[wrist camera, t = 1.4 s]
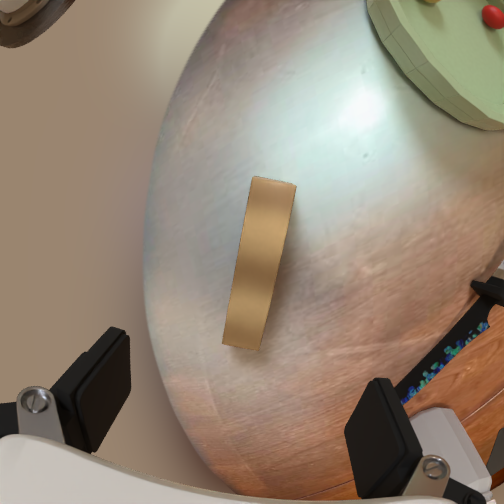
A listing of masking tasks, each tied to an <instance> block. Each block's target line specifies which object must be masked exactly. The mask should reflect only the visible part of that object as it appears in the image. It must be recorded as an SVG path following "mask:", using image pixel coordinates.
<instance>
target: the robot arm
mask: <svg viewBox="0 0 504 504" xmlns="http://www.w3.org/2000/svg"><path fill="white" fill-rule="evenodd" d="M48 1H49V0H0V21H1V22H2V24H4V25H7V26H10V27H12V26H17V25H20V24H21V23H23V22H25V21H27V20H28V19H29V18H31V17H32V16H34V15H35V14H36V13H37V12H38V11H39V10H40V9H42V8H43V7H44V6H45V5H46V4H47V3H48ZM130 391H131V371H130V337H129V336H128V335H126V332H125V330H121V329H119V328H115V327H110V328H109V329H108V330H107V331H106V332H105V333H104V334H103V335H102V336H101V337H100V338H99V339H98V341H97V342H96V343H95V344H94V345H93V346H92V347H91V348H90V349H89V351H88V352H84V353H82V354H81V355H80V356H79V357H78V359H77V360H76V361H75V362H74V363H73V364H72V365H71V366H70V367H69V369H68V370H67V371H66V372H65V373H64V374H63V375H62V376H61V377H60V379H59V380H58V381H57V382H56V383H55V384H54V385H53V386H52V388H51V389H50V390H47V389H46V388H43V387H40V386H31V387H27V388H25V389H23V390H22V391H21V392H20V393H19V394H18V396H17V401H16V402H11V403H1V404H0V504H487V503H486V499H485V497H484V496H483V495H482V494H481V493H480V492H478V491H477V490H474V489H472V488H470V487H468V486H466V485H464V484H462V483H460V482H458V481H456V480H454V479H452V478H450V473H451V470H450V466H449V464H448V463H447V462H446V461H445V459H443V458H442V457H440V456H437V455H426V456H423V453H422V452H423V449H422V447H421V445H420V442H419V440H418V438H417V436H416V433H415V431H414V429H413V427H412V425H411V422H410V420H409V418H408V416H407V414H406V412H405V410H404V408H403V406H402V403H401V401H400V399H399V397H398V395H397V393H396V391H395V389H394V387H393V385H392V383H391V381H390V379H388V378H374V379H373V381H370V382H369V383H368V385H367V387H366V389H365V391H364V393H363V395H362V396H361V398H360V400H359V402H358V404H357V406H356V408H355V410H354V411H353V413H352V415H351V417H350V419H349V420H348V422H347V424H346V426H345V429H344V434H345V439H346V443H347V447H348V452H349V456H350V461H351V466H352V470H353V475H354V480H355V485H356V490H357V494H358V496H359V497H361V498H362V499H361V500H341V501H300V500H281V499H268V498H258V497H250V496H242V495H235V494H229V493H223V492H217V491H212V490H206V489H202V488H196V487H192V486H188V485H184V484H180V483H175V482H172V481H168V480H164V479H161V478H157V477H154V476H150V475H147V474H144V473H141V472H138V471H134V470H132V469H129V468H126V467H123V466H120V465H117V464H115V463H112V462H109V461H107V460H104V459H101V458H99V457H96V456H94V455H91V452H96V451H97V450H98V448H99V446H100V445H101V443H102V441H103V439H104V437H105V436H106V434H107V432H108V431H109V429H110V427H111V425H112V424H113V422H114V420H115V418H116V416H117V415H118V413H119V411H120V410H121V408H122V406H123V404H124V402H125V401H126V399H127V398H128V396H129V394H130Z"/></svg>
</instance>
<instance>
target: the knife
mask: <svg viewBox="0 0 504 504" xmlns="http://www.w3.org/2000/svg"><path fill="white" fill-rule="evenodd" d="M471 287H472V288H473V289H474V290H475V291H476V292H477V293H478V295H479V296H480V297H479V299H478V300H477V301H476V302H475V303H474V305H473V306H472V307H471V308H470V309H469V310H468V311H467V312H466V314H465V315H464V316H463V317H462V318H461V319H460V320H459V321H458V322H457V323H456V325H455V326H454V327H453V328H452V329H451V330H450V331H449V332H448V333H447V334H446V336H445V337H444V338H443V339H442V340H441V341H440V342H439V343H438V344H437V345H436V346H435V347H434V348H433V349H432V350H431V351H430V352H429V353H428V354H427V355H426V356H425V357H424V358H423V359H422V360H421V362H420V363H419V364H418V365H417V366H416V367H415V368H414V369H413V370H412V371H411V372H410V373H409V374H408V375H407V376H406V377H405V378H404V379H403V380H402V381H401V382H400V383H399V384H398V385H397V386H396V387H395V388H394V389H395V391H396V393H397V395H398V397H399V399H400V401H401V403H402V405H404V404H405V403H406V402H407V401H409V400H410V399H411V398H412V397H413V396H414V395H416V394H417V393H418V392H419V391H420V390H421V389H422V388H423V387H424V386H425V385H426V384H427V383H428V382H429V381H430V380H431V379H432V378H433V377H434V376H435V375H436V374H437V373H438V372H439V371H440V370H441V369H442V368H443V367H444V366H445V365H446V364H447V363H448V362H449V361H450V360H451V359H452V358H453V357H454V356H455V355H456V354H457V353H458V352H459V351H460V350H461V349H462V348H463V347H465V346H466V345H467V344H468V343H469V342H471V341H472V340H473V339H474V338H476V337H477V336H478V335H479V334H481V333H482V332H483V331H485V330H486V329H488V328H489V327H490V326H489V325H488V321H487V317H488V314H489V312H490V310H491V308H492V307H493V306H494V305H495V304H497V305H500V306H503V307H504V260H503V262H502V263H501V264H500V266H499V267H498V268H497V270H496V271H495V272H494V274H493V275H492V276H491V277H490V278H489V280H488V281H487V282H486V283H483V282H478V281H474V280H473V281H472V284H471Z"/></svg>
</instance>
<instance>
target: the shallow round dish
mask: <svg viewBox="0 0 504 504" xmlns="http://www.w3.org/2000/svg"><path fill="white" fill-rule="evenodd" d="M366 1H367V9H368V13H369V15H370V17H371V19H372V22H373V24H374V26H375V28H376V30H377V33H378V35H379V37H380V39H381V42H382V43H383V45H384V46H385V47H386V49H387V50H388V51H389V53H390V54H391V55H392V57H393V58H394V60H395V61H396V62H397V64H398V65H399V67H400V68H401V70H402V71H403V73H404V74H405V75H406V76H407V77H408V78H409V79H410V80H411V81H412V82H413V83H414V84H415V85H416V86H417V87H418V88H419V89H420V90H421V91H422V92H423V93H424V94H425V95H426V96H427V97H428V98H429V99H430V100H431V101H432V102H433V103H434V104H435V105H437V106H438V107H440V108H441V109H443V110H444V111H446V112H447V113H449V114H450V115H452V116H453V117H455V118H456V119H458V120H459V121H460V122H462V123H465V124H468V125H472V126H475V127H478V128H481V129H483V130H487V131H488V130H500V129H504V27H503V28H502V29H493V28H491V27H490V26H488V25H487V24H486V23H485V21H484V20H483V18H482V9H483V7H485V6H486V5H493V6H496V7H497V8H499V9H500V10H501V11H502V12H503V14H504V0H440V1H439V2H437V3H429V2H426V1H424V0H366Z"/></svg>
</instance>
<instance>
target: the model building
mask: <svg viewBox="0 0 504 504" xmlns="http://www.w3.org/2000/svg"><path fill="white" fill-rule="evenodd" d="M486 468H487V470H488V472H489V474H490V476H492V475H493V474H495V473H496V472H498V471H499V470H501V469H502V468H504V428H502V429H501V430H500V431H499V433H498V436H497V439H496V442H495V445H494V447H493V450H492V453H491V455H490V458H489V461H488V463H487V465H486Z"/></svg>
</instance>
